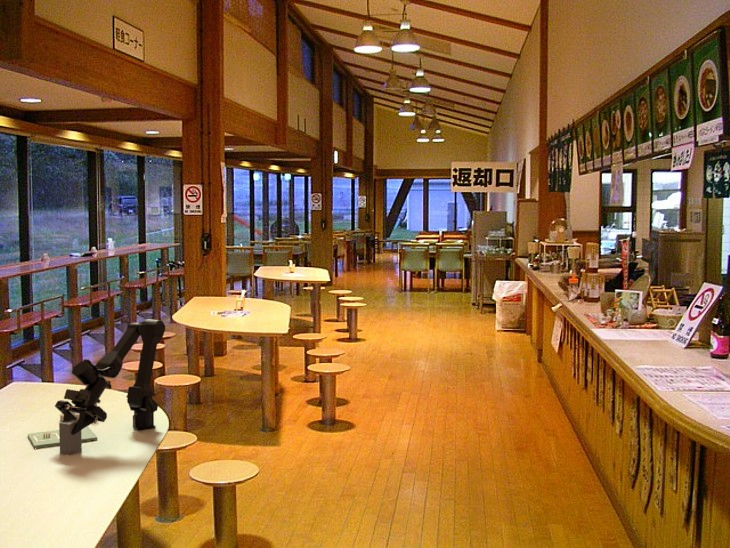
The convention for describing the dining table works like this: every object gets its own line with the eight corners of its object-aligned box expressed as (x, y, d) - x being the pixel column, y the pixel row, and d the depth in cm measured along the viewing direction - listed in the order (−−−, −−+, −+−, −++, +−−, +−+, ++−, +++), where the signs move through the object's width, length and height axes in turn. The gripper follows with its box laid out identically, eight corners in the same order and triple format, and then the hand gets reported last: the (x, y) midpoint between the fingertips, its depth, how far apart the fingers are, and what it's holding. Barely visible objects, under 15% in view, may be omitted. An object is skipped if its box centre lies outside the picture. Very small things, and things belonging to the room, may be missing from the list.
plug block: (72, 449, 261) (71, 419, 260) (81, 451, 259) (81, 420, 258) (59, 453, 257) (59, 422, 256) (69, 455, 254) (68, 424, 254)
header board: (87, 428, 285) (87, 422, 285) (97, 440, 271) (97, 432, 271) (27, 436, 275) (27, 429, 275) (34, 448, 261) (34, 441, 261)
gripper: (58, 376, 264) (31, 416, 255) (99, 382, 255) (73, 423, 246) (77, 394, 271) (52, 434, 262) (118, 401, 263) (93, 442, 254)
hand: (67, 433), depth 256 cm, fingers closed on plug block, 4 cm apart
